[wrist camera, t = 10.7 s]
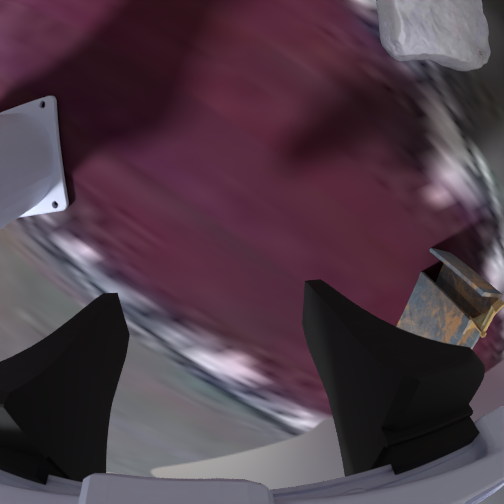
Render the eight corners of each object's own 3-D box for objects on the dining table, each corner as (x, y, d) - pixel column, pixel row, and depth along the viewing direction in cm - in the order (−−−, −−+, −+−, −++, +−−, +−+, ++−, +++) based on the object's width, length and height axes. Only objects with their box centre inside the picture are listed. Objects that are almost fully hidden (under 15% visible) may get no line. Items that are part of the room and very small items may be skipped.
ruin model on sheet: (424, 245, 24) (498, 308, 15) (447, 250, 24) (518, 309, 15) (376, 351, 28) (417, 427, 19) (399, 350, 29) (443, 421, 20)
